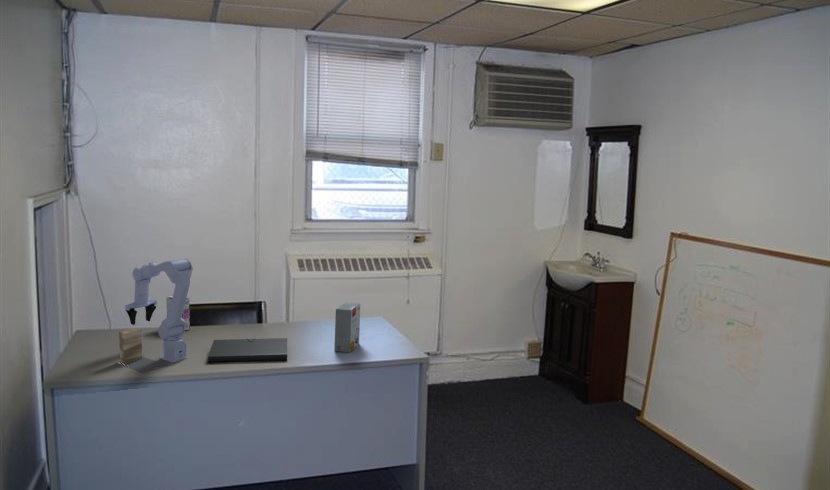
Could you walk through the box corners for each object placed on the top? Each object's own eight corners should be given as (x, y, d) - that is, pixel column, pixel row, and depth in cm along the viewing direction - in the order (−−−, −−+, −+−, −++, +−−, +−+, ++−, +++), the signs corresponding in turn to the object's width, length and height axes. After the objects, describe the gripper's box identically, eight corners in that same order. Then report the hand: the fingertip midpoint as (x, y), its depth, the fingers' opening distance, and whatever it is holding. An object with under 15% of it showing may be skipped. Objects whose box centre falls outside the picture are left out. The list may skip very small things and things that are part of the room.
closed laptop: (287, 337, 307) (287, 353, 283) (287, 345, 307) (287, 363, 284) (213, 338, 300) (207, 356, 277) (214, 347, 301) (207, 365, 278)
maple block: (142, 358, 280) (141, 329, 278) (125, 363, 273) (124, 333, 271) (137, 357, 282) (136, 327, 280) (120, 361, 275) (119, 332, 273)
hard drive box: (350, 353, 298) (350, 310, 295) (334, 351, 299) (334, 309, 296) (359, 343, 313) (360, 302, 310) (344, 342, 314) (345, 301, 311)
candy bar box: (190, 329, 326) (189, 297, 324) (182, 332, 322) (182, 299, 319) (174, 326, 331) (173, 294, 329) (166, 328, 327) (165, 296, 324)
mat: (169, 365, 273) (168, 364, 273) (143, 373, 263) (143, 372, 263) (139, 356, 284) (139, 355, 284) (113, 363, 274) (113, 362, 274)
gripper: (150, 288, 298) (149, 316, 301) (121, 293, 286) (120, 323, 289) (160, 292, 294) (158, 321, 297) (131, 298, 282) (130, 327, 285)
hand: (140, 322), depth 293 cm, fingers open, 7 cm apart
